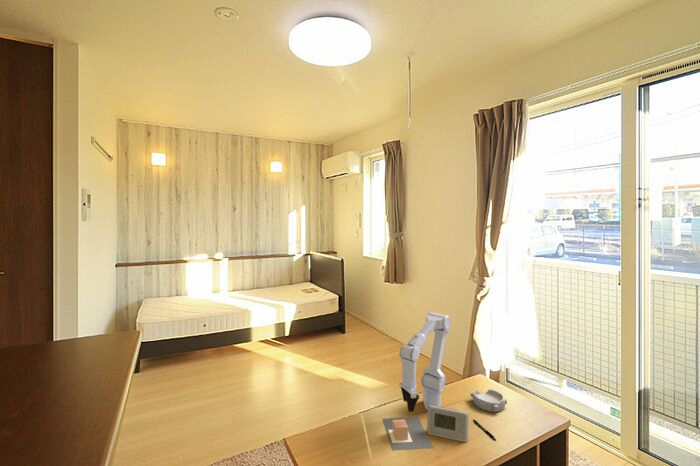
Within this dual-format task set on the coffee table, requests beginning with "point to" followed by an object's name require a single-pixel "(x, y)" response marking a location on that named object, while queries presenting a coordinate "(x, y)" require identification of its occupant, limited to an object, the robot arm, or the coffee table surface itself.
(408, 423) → the mat
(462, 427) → the digital clock
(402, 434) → the block
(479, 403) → the dish
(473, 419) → the pen
